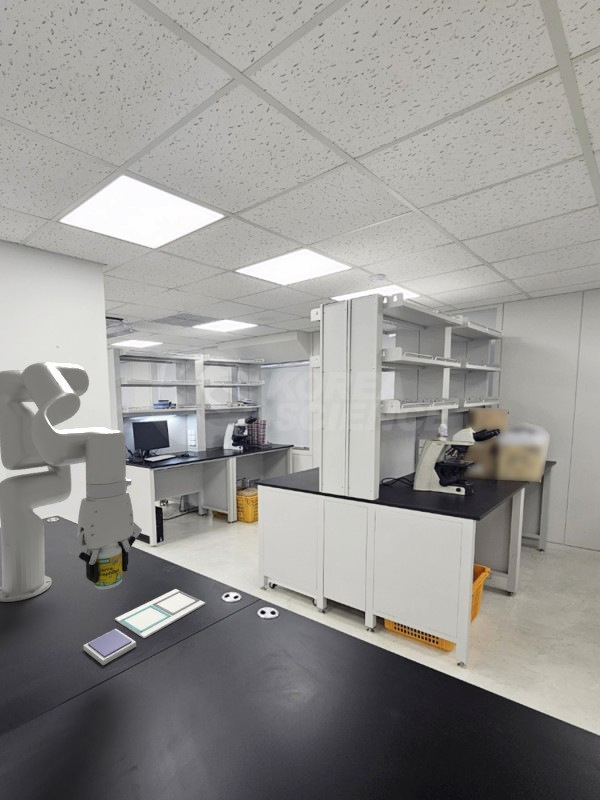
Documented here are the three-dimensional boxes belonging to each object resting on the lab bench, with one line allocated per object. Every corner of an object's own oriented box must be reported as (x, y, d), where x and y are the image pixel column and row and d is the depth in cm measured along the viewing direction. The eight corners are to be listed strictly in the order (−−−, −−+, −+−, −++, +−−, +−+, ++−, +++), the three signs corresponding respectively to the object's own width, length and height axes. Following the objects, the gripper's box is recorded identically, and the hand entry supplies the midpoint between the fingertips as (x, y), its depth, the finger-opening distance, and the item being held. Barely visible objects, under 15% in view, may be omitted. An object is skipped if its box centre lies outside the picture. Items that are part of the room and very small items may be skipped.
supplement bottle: (120, 575, 85) (119, 532, 85) (124, 585, 81) (123, 539, 81) (92, 582, 82) (91, 537, 82) (95, 592, 78) (94, 545, 78)
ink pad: (83, 649, 81) (83, 643, 81) (116, 632, 87) (115, 627, 87) (103, 665, 77) (103, 658, 77) (136, 646, 82) (136, 640, 82)
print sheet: (115, 620, 92) (115, 618, 92) (175, 590, 106) (175, 588, 106) (144, 638, 85) (144, 636, 85) (205, 604, 99) (205, 602, 99)
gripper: (134, 479, 90) (135, 557, 91) (53, 495, 77) (55, 586, 77) (153, 483, 86) (154, 565, 86) (71, 501, 72) (73, 598, 72)
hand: (108, 574), depth 82 cm, fingers closed on supplement bottle, 5 cm apart
